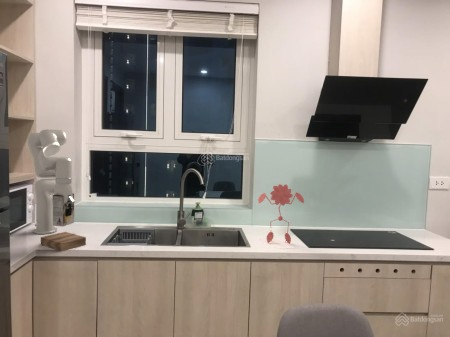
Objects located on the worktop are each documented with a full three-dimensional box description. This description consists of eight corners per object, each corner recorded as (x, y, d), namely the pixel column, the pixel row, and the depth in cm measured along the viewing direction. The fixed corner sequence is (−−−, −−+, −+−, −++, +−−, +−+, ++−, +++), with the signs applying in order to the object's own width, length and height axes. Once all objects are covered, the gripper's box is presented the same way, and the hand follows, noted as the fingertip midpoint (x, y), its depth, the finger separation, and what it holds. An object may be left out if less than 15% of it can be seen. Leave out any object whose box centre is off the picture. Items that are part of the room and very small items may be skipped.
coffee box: (64, 222, 186) (64, 192, 185) (74, 222, 185) (74, 193, 184) (52, 225, 177) (52, 194, 176) (63, 226, 176) (63, 195, 175)
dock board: (40, 244, 180) (40, 237, 180) (65, 238, 192) (65, 231, 192) (61, 251, 171) (61, 243, 171) (85, 244, 183) (85, 237, 183)
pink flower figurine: (256, 239, 206) (259, 181, 202) (299, 242, 203) (303, 183, 200) (256, 247, 190) (259, 185, 187) (303, 250, 188) (307, 187, 185)
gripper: (46, 180, 181) (47, 213, 182) (67, 183, 172) (67, 218, 173) (60, 179, 187) (60, 211, 188) (80, 182, 178) (80, 215, 179)
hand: (63, 214), depth 181 cm, fingers closed on coffee box, 7 cm apart
